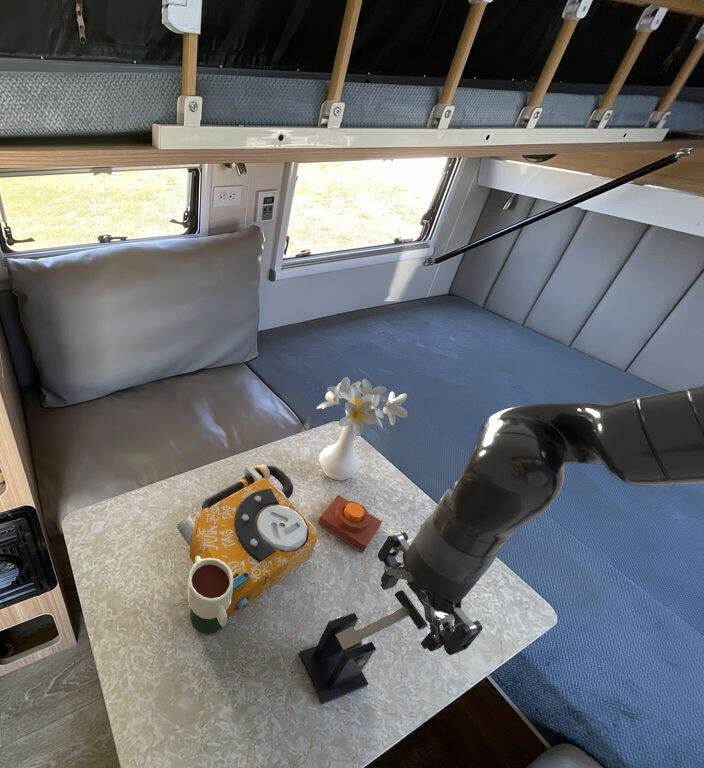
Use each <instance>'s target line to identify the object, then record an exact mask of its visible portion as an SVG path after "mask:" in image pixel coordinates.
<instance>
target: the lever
mask: <svg viewBox="0 0 704 768" xmlns="http://www.w3.org/2000/svg"><path fill="white" fill-rule="evenodd" d="M394 597H395V598H396V600H397V601H398V602H399V604H400V605H401V607H399V608H398V609H397V610H394V611H393V612H390V613H388V614H386V615H384V616H383V617H380V618H379V619H376V620H375V621H372V622H370V623H369V624H366V625H365V626H362V627H361V628H360V627H359V629H355V627H354V628H353V626H351V627H349V628H347V629H345V630H343V631H341V632H339V633H337V634H335V636H336V639H337V641H338V643H339V645H340V647H341V649H342V650H343V652H345V651H347V650H350V649H353V648H355V647H358V646H361V645H363V643H362V640H365V639H367V638H369V637H370V636H373V635H375V634H377V633H378V632H381V631H382V630H385V629H387V628H389V627H391V626H393V625H394V624H398V622H400V621H403V620H405V619H407V618H410V619H411V621H412V622H413V623H414V625H415V626H416V628H417V630H419V631H421V630H424V629H426V628H427V627H428V626H429V624H428V622H427V621H426V619H425V618H424V617H423V616H422V614H421V613H420V612H419V610H418V609H417V607H416V606H415V604H414V603H413V602H412V601H411V599H410V598H409V596H408V595H407V593H406V592H405V591H404V590H403V589H400V590H397V591H396V592H395V593H394Z"/></svg>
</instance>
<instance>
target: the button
mask: <svg viewBox="0 0 704 768" xmlns="http://www.w3.org/2000/svg"><path fill="white" fill-rule="evenodd" d="M357 503H358V502H357ZM357 503H348V504H347V505H346V508H345V510H344V515H345V517H346V518H347V519H348V520H350V521H352V522H359V521H361V520H362V517H363V515H364V509H363V508H362V507H361V506H360V505H361V504H360V503H359V504H360V505H359V504H357Z"/></svg>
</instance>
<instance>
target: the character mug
mask: <svg viewBox="0 0 704 768" xmlns="http://www.w3.org/2000/svg"><path fill="white" fill-rule="evenodd" d="M232 592H233V574H232V571H231V569H230V568H229V567H228V566H227V565H226V564H225V563H224V562H222V561H221V560H219V559H215V558H205V559H201V558H200V556H196V557H195V564H194V563H193V565H192V567H191V568H190V570H189V573H188V578H187V600H188V605H189V608H190V609H189V621H190V623H191V626H192V628H193V629H195V631H197V633H199V634H203V635H206V636H208V635H209V636H210V635H214V634H216V633H218V632H219V631H221V630H222V629H223V628H224V627H226V625H227V622H228V615H227V613H226V611H227V609H228V608H229V606H230V604H231V597H232Z"/></svg>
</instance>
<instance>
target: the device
mask: <svg viewBox="0 0 704 768" xmlns="http://www.w3.org/2000/svg"><path fill="white" fill-rule="evenodd" d="M271 476H272V477H273V478H275V479H276V480H277V481H278V482H279V484H281V487H282V489H281V490H280V489H279V488H278V487H277V486H276V485H275V484H274V483H271V482H270V481H269V479H270V478H271ZM293 492H294V484H293V482H292V480H291V478H290V477H289V476H288V475H287V474H286V473H285V471H283V470H282V469H281V468H279V467H278V466H276V465H265V464H258V465H255V466H254V467H253V466H251V465H250V464H248V465H246V466H245V468H244V476H243V477H242V478H241V479H240V480H239V481H237V482H235V483H233V484H232V485H230V486H227V487H226V488H224V489H223V490H221V491H219V492H217V493H215V494H213V495H211V496H210V497H207V498H206V499H205V500H204V501H203V502H202V505H201V510H200V514H199V516H196V518H195V521H194V520H193V519H192V518H191V517H190V516H187V517H185V518H182V519H181V520H180V521H179V522H178V524H177V525H176V529H177V531H178V532H179V534H180V535H181V536H182V537H183V539H184V541H185V542H186V544H187V545H188V546H189V558H190V559H191V561H192V563H193V565H194V564H195V557H196V556H200V558H201V559H205V558H215V559H219V560H221V561H222V562H224V563H225V564H226V565H227V566H228V567H229V568H230V569H231V571H232V574H233V592H232V597H231V604H230V606H229V608H228V609H227V611H226V613H227V616H234V615H236V614H238V613H240V612H241V611H242V610H243V609H245V608H246V607H247V606H249V605H250V604H252V603H253V602H254V601H256V600H258V598H260V597H261V596H262V594H264V593H265V592H266V591H268V590H270V589H271V588H273V587H274V586H275V585H277V584H279V583H280V582H281V581H283V580H284V579H285V577H287V576H289V575H290V574H291V573H292V572H294V571H295V570H297V569H298V568H299V567H301V566H302V565H303V564H305V563H306V562H308V561H309V560H310V559H311V557H312V555H313V552H314V549H315V547H316V544H317V542H318V536H319V534H318V531H317V529H316V527H315V526H314V525H313V524H312V523H311V522H310V521H309V520H308V519H307V518H306V517H305V516H304V515H303V514H302V513H301V512H300V511H299V510H298V509H297V508H296V507H295V505H293V503H292V502H291V501H290V500H289V499H290V498H291V496H292V495H293ZM219 502H220V503H219ZM218 503H219V504H218ZM216 504H217V505H216ZM214 505H215V506H214ZM212 506H214V507H212Z"/></svg>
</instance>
